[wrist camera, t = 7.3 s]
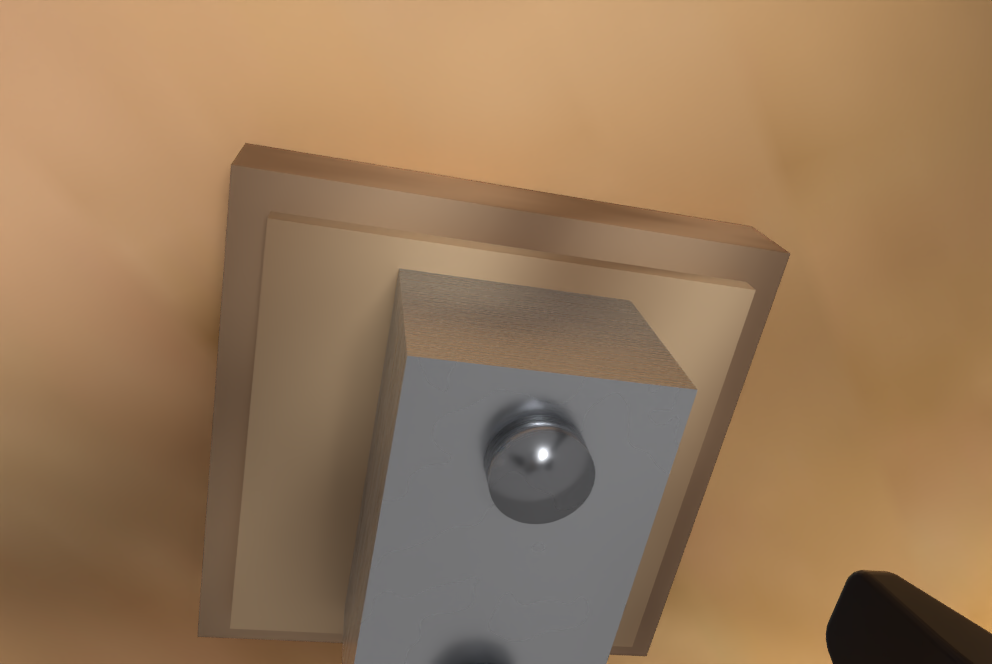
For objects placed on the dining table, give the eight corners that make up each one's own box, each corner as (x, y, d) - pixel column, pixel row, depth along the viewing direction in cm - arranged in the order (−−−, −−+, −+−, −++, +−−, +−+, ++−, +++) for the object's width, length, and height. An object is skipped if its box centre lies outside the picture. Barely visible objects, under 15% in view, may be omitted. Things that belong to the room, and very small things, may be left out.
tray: (752, 226, 20) (801, 261, 18) (626, 604, 25) (652, 669, 22) (245, 143, 17) (226, 170, 15) (211, 581, 22) (193, 651, 20)
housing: (539, 620, 21) (581, 783, 17) (344, 610, 20) (336, 781, 16) (630, 300, 18) (710, 407, 13) (399, 268, 16) (408, 372, 12)
